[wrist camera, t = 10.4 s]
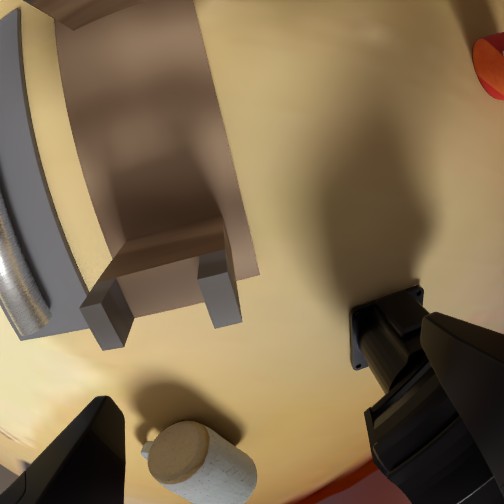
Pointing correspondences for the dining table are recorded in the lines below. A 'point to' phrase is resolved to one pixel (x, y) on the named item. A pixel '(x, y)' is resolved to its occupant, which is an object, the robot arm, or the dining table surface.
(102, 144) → the hook stand
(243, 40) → the dining table surface
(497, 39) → the paper cup
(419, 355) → the robot arm
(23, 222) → the grey flat tapered piece
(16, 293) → the steel rod
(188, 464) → the ceramic mug
